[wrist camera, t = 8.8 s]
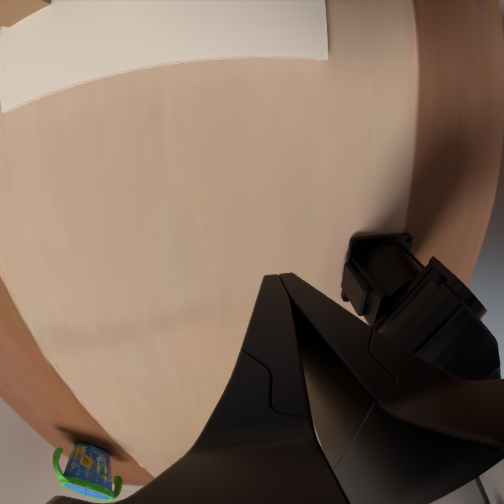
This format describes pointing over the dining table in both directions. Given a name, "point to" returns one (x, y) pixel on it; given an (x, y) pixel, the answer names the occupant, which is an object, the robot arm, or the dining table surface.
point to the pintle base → (144, 38)
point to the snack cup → (88, 472)
